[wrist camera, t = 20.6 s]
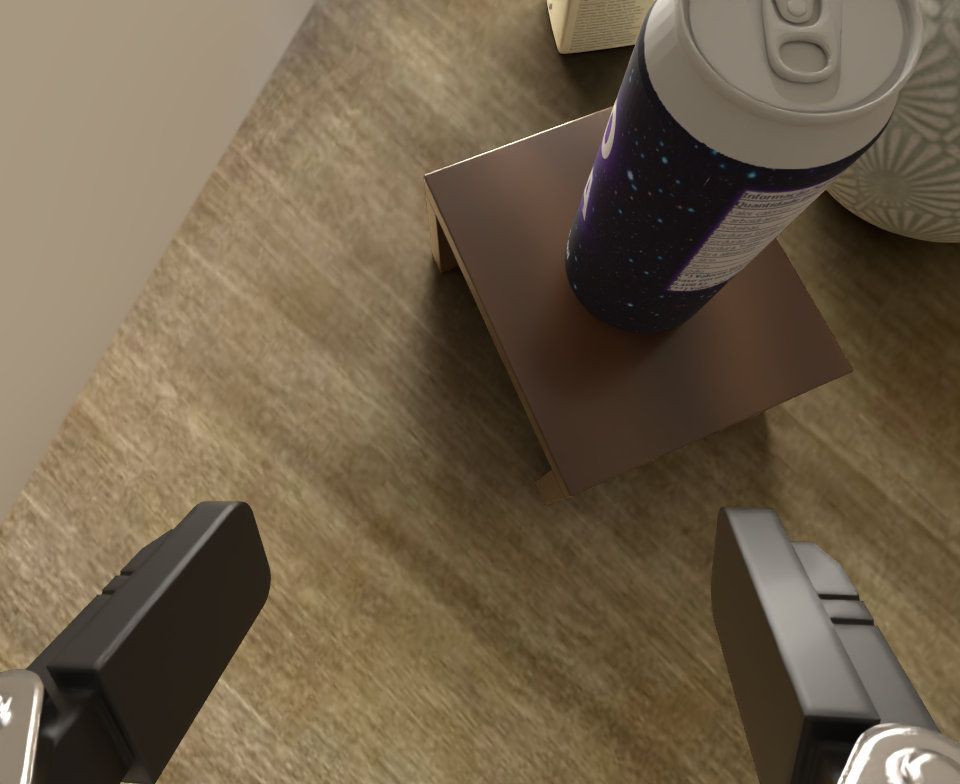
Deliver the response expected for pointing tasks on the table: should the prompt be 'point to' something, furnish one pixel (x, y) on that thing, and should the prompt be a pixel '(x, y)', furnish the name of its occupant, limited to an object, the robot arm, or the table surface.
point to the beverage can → (728, 143)
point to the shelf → (598, 346)
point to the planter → (916, 144)
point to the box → (596, 23)
